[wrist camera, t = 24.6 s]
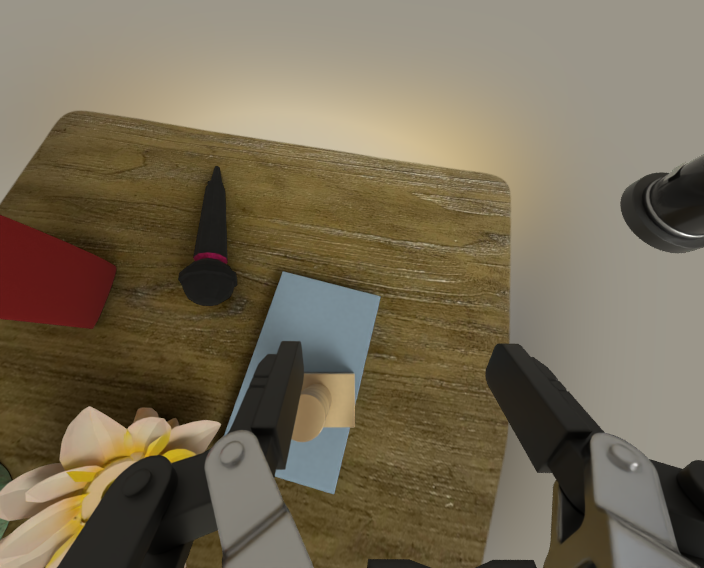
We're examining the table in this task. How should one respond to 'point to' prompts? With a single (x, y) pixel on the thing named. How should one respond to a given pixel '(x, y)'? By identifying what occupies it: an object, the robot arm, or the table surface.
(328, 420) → the wooden stamp
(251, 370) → the mat
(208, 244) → the microphone
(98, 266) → the red curved piece
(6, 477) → the decorative artifact
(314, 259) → the table surface
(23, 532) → the decorative flower
